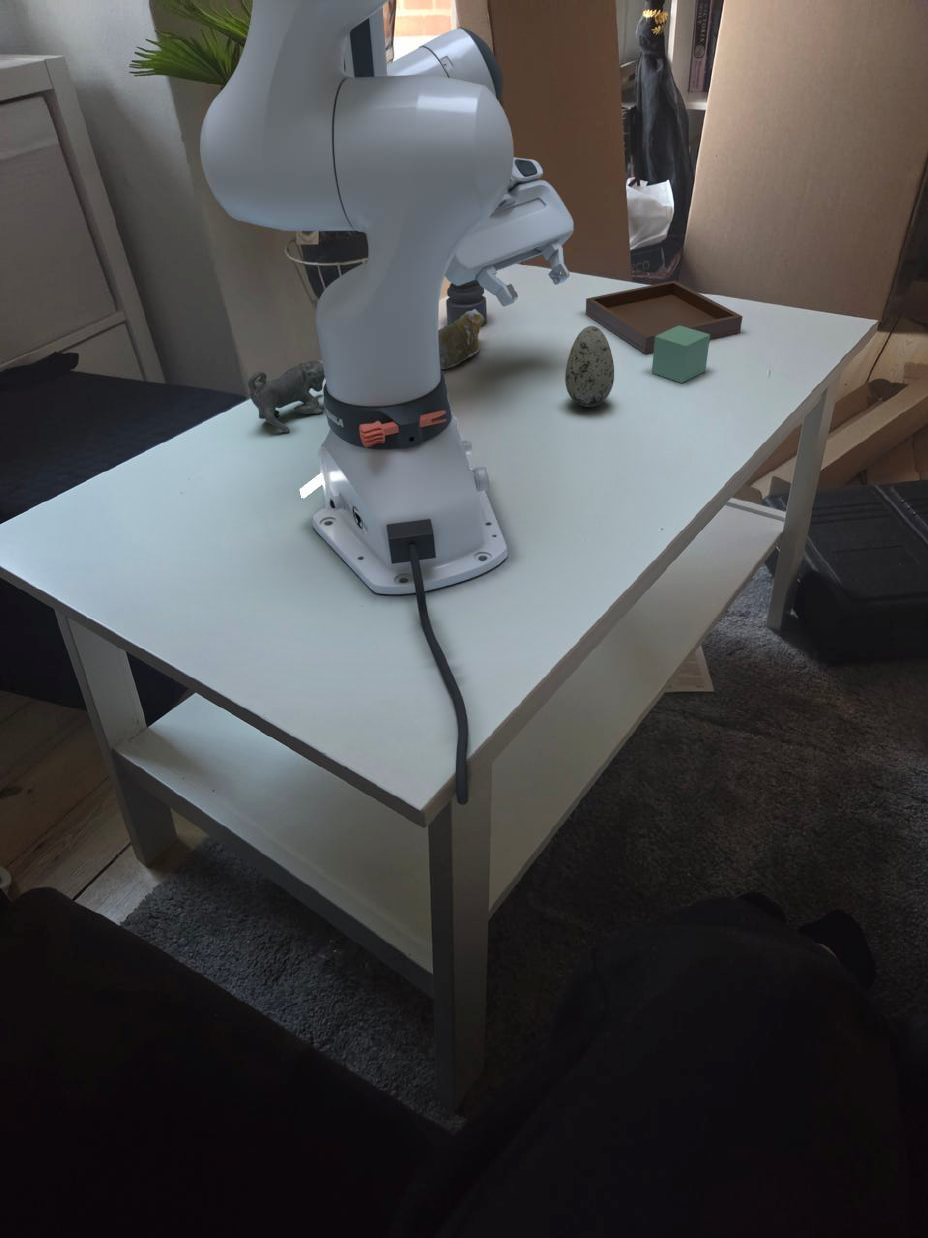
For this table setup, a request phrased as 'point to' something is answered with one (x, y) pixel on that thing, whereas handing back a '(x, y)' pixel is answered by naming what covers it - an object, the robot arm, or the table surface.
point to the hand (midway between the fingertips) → (537, 291)
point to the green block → (680, 353)
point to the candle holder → (465, 301)
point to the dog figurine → (287, 391)
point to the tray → (660, 313)
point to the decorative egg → (590, 368)
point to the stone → (459, 339)
